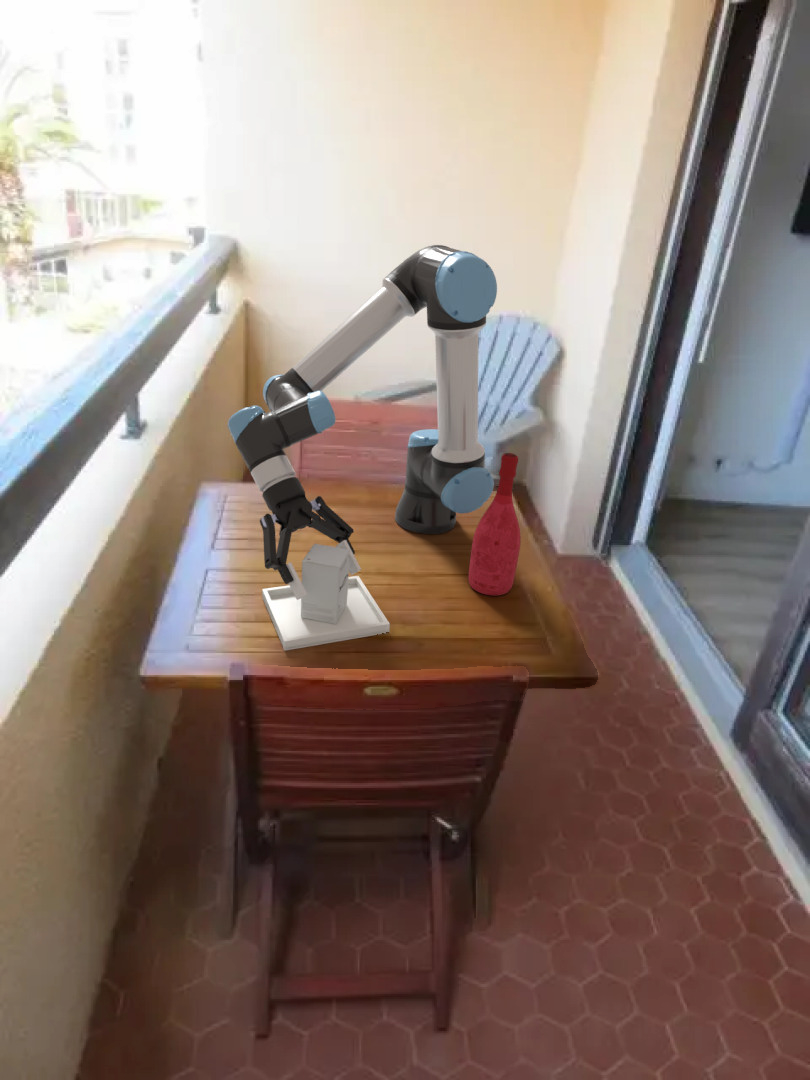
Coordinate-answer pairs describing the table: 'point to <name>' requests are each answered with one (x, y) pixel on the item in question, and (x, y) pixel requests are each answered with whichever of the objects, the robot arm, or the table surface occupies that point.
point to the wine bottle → (497, 538)
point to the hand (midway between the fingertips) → (330, 584)
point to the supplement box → (325, 583)
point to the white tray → (301, 632)
